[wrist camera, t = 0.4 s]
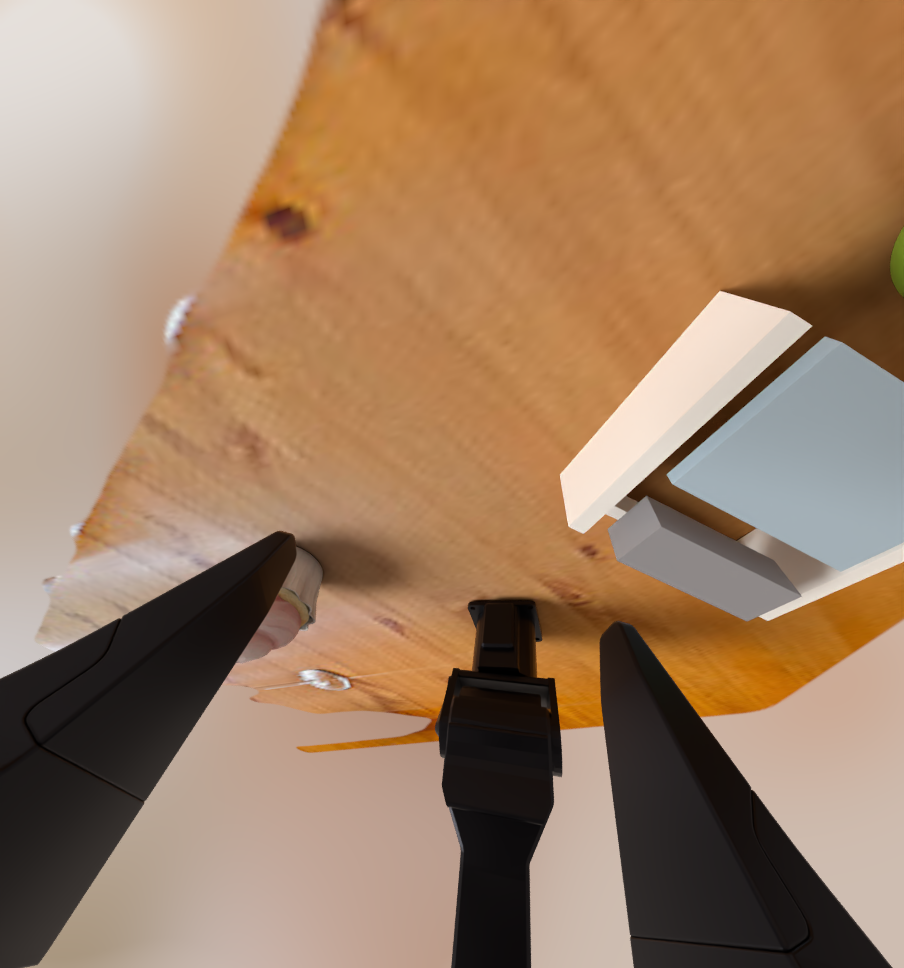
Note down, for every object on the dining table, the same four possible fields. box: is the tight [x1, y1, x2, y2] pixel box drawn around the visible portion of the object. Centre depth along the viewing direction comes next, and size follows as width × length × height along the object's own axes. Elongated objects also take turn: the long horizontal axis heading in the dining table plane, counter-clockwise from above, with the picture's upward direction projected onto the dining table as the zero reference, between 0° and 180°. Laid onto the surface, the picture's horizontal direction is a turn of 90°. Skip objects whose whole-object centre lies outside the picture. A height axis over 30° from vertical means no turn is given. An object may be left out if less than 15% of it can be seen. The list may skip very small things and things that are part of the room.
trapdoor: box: [608, 337, 904, 621], centre depth 16 cm, size 11×12×2 cm
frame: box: [560, 291, 904, 621], centre depth 18 cm, size 14×12×5 cm
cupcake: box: [236, 547, 323, 663], centre depth 30 cm, size 9×9×10 cm
